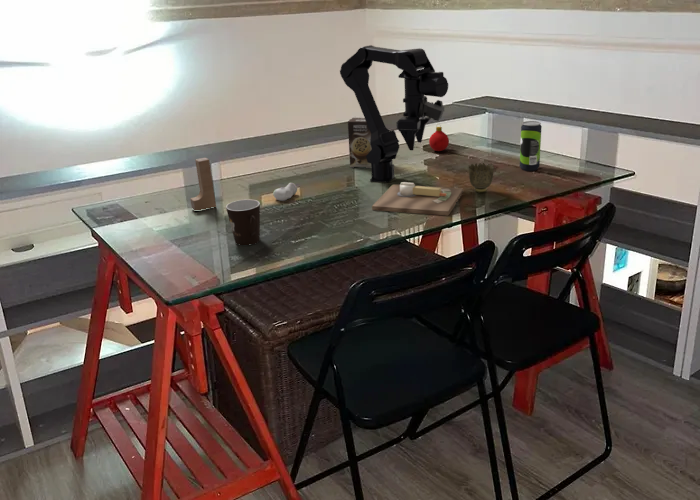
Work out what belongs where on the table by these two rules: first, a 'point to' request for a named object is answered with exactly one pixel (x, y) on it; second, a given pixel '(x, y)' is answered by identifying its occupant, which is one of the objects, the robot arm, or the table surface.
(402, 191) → the tuner pointer lever
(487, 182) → the cup
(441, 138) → the christmas ornament
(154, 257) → the table surface
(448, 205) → the tuner board
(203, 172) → the wooden block
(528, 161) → the beverage can
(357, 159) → the coffee box
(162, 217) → the table surface
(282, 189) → the pale two-lobed sculpture
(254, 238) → the coffee mug
